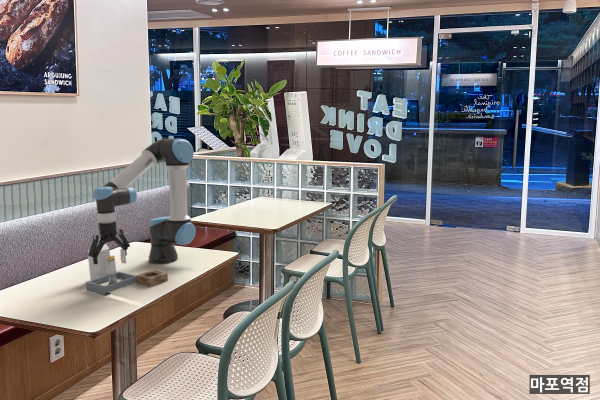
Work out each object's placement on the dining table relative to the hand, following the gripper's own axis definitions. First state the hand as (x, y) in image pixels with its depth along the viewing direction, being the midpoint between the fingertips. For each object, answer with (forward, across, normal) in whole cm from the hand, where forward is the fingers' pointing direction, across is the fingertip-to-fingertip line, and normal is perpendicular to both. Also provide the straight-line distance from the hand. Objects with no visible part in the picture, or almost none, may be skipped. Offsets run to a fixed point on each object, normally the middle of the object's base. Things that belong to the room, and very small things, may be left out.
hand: (111, 266), depth 248 cm
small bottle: (+9, 0, 0) cm, 9 cm away
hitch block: (+10, -12, +13) cm, 20 cm away
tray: (+10, 0, 0) cm, 10 cm away
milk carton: (+10, -4, -15) cm, 18 cm away
